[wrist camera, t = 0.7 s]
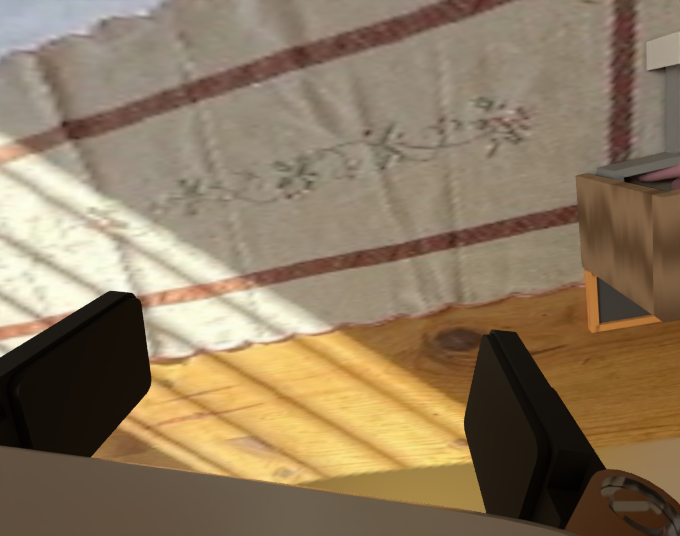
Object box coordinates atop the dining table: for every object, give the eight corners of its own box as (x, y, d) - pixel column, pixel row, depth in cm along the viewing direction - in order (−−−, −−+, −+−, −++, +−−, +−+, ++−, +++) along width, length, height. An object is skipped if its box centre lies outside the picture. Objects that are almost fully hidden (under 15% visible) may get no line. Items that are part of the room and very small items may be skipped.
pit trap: (584, 269, 43) (588, 271, 42) (770, 233, 40) (777, 235, 39) (588, 329, 45) (592, 332, 44) (764, 300, 42) (771, 303, 41)
